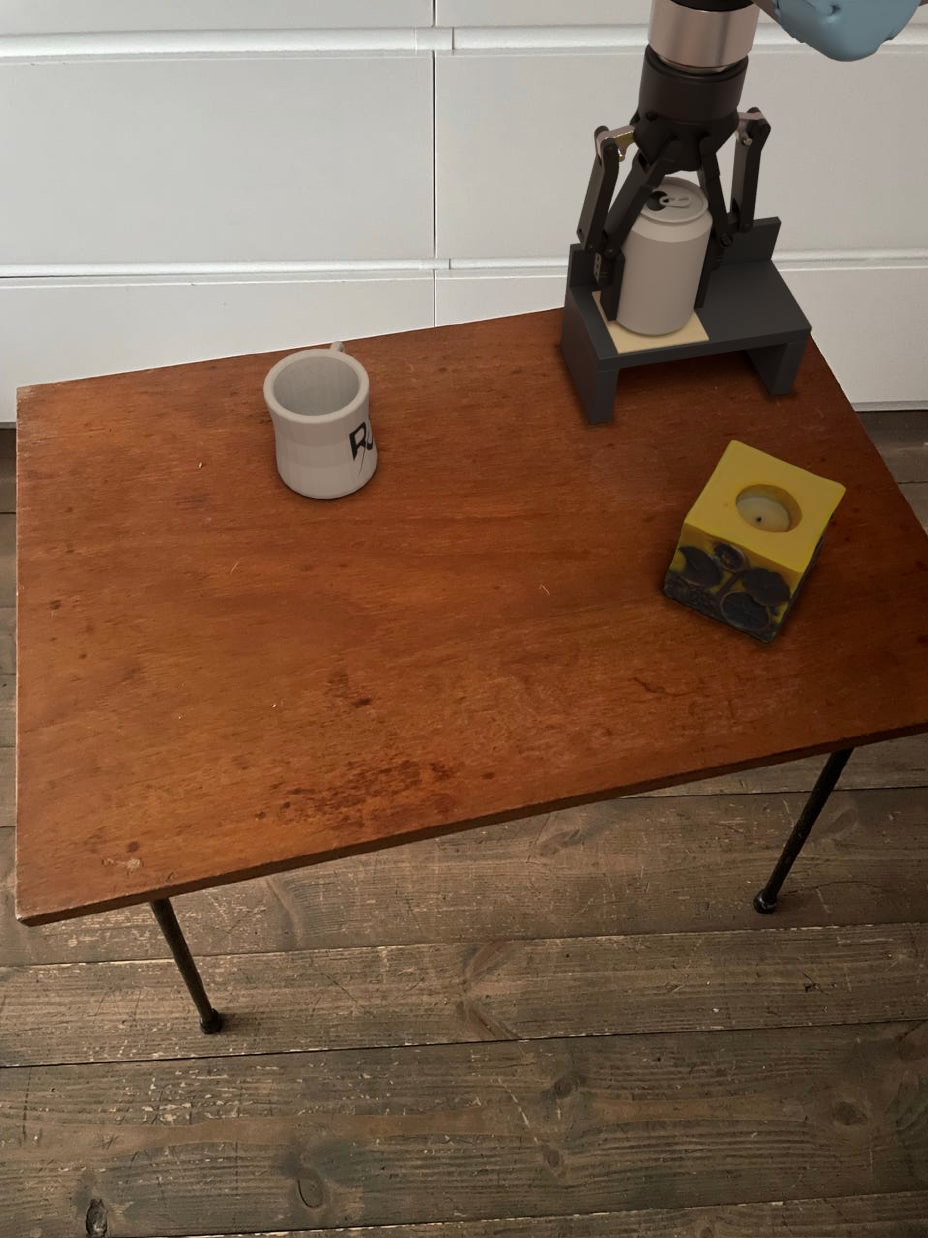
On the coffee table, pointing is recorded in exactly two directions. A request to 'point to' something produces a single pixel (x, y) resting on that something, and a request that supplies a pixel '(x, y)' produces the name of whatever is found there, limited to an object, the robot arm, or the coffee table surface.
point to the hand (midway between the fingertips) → (651, 304)
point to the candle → (751, 540)
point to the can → (664, 259)
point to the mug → (321, 422)
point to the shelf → (689, 323)
